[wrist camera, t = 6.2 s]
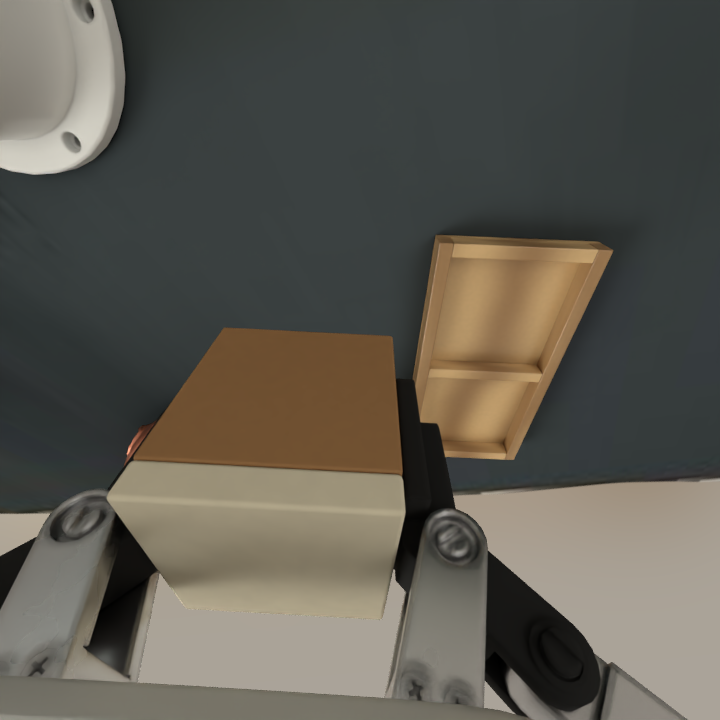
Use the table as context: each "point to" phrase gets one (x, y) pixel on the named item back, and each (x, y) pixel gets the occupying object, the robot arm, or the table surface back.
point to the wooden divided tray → (498, 334)
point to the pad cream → (275, 477)
